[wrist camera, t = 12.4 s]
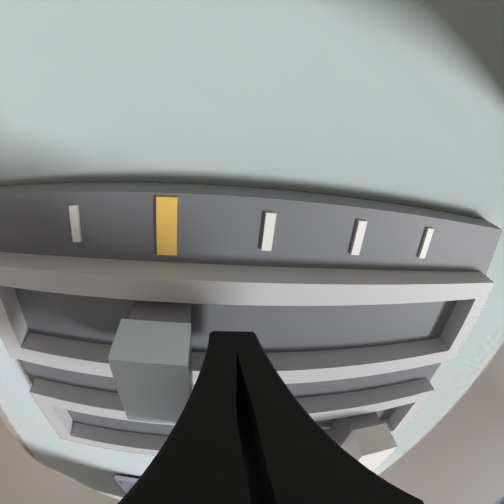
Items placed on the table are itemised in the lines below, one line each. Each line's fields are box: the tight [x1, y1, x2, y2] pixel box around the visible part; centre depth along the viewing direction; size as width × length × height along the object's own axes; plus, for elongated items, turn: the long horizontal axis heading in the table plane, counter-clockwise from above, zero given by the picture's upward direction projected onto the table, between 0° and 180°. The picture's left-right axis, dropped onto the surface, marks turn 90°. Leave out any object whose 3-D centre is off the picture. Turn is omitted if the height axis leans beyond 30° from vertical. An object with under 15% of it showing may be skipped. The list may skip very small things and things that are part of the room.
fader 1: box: [108, 300, 193, 424], centre depth 9 cm, size 3×2×3 cm
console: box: [0, 182, 502, 456], centre depth 12 cm, size 16×22×2 cm
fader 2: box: [331, 412, 397, 471], centre depth 13 cm, size 3×2×3 cm
